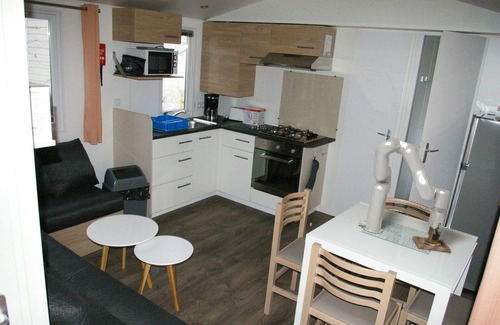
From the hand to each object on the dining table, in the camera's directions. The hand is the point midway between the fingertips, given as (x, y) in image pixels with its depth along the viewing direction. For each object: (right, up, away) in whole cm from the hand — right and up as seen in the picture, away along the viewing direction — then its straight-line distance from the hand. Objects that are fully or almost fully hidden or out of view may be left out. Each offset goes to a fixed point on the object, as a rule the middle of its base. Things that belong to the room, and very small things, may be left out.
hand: (432, 237), depth 237 cm
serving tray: (-1, -6, +1) cm, 6 cm away
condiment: (-1, -4, 0) cm, 4 cm away
